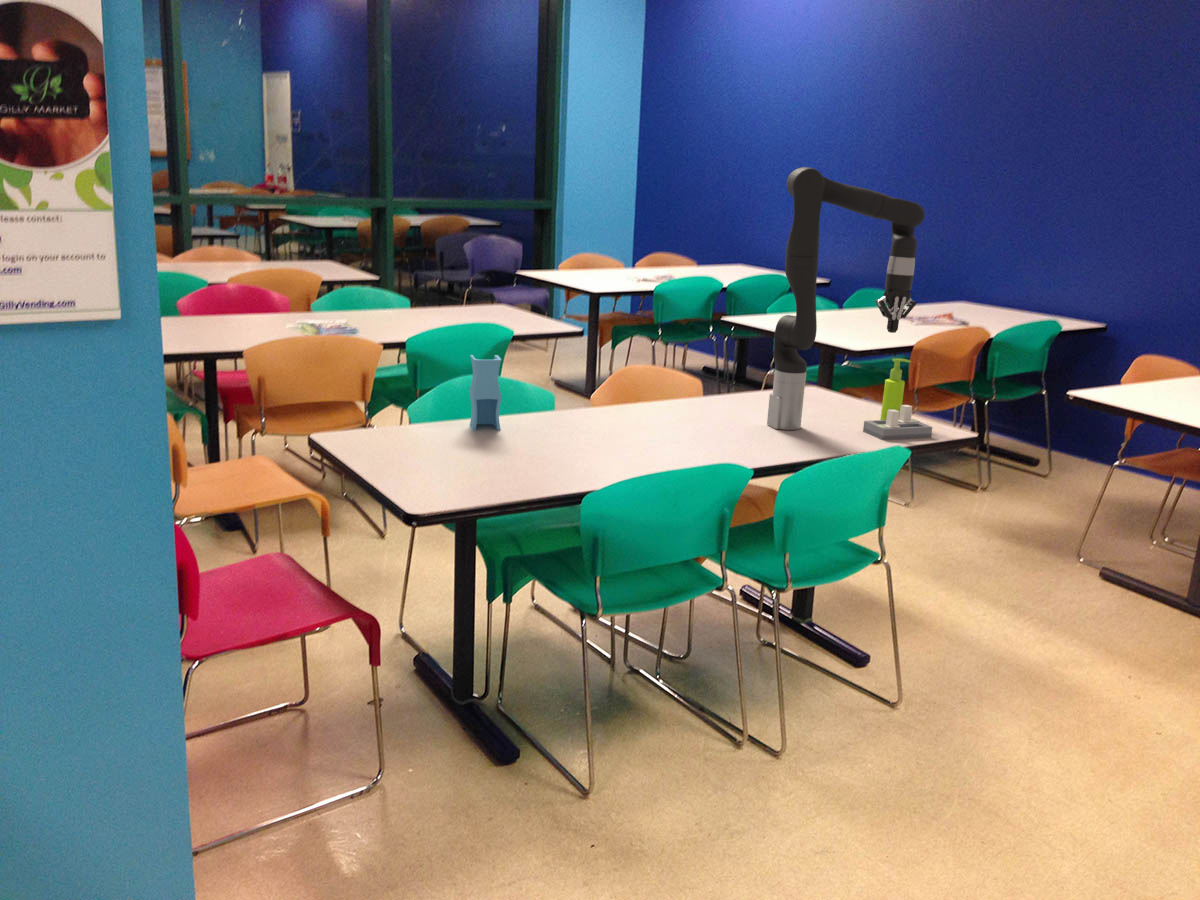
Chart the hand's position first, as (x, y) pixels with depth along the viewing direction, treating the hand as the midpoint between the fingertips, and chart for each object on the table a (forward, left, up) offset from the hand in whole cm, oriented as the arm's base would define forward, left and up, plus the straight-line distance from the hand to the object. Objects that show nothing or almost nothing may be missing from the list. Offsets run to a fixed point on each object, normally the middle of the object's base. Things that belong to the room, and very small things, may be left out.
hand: (891, 332), depth 302 cm
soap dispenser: (+11, +10, -30) cm, 34 cm away
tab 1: (-1, -7, -29) cm, 29 cm away
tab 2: (+7, -2, -29) cm, 29 cm away
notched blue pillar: (-116, +24, -30) cm, 122 cm away
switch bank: (+3, -4, -30) cm, 30 cm away
